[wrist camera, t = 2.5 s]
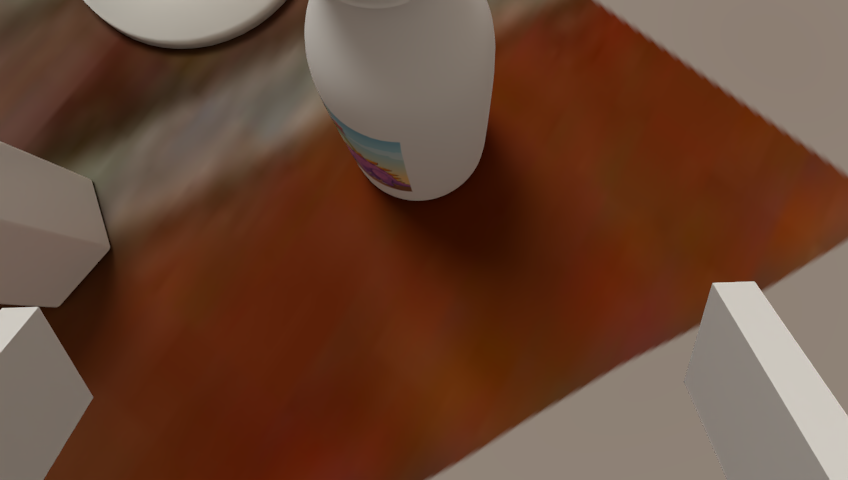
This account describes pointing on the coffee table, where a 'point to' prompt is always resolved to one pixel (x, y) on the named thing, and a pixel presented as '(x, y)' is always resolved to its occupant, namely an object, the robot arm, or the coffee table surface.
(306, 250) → the coffee table surface
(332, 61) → the milk bottle
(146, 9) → the trivet
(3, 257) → the jar
